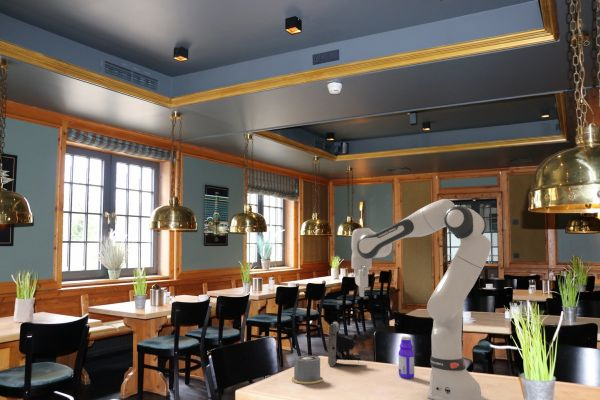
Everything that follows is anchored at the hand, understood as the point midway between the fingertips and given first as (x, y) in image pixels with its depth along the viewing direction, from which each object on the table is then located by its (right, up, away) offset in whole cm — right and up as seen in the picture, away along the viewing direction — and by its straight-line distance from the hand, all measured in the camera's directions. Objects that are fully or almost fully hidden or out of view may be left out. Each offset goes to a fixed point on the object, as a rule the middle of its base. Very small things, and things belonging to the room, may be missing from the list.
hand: (361, 296), depth 227 cm
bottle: (+19, -34, -4) cm, 39 cm away
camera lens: (-24, -28, -9) cm, 38 cm away
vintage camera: (-5, -36, +19) cm, 41 cm away
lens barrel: (-24, -33, -9) cm, 42 cm away
